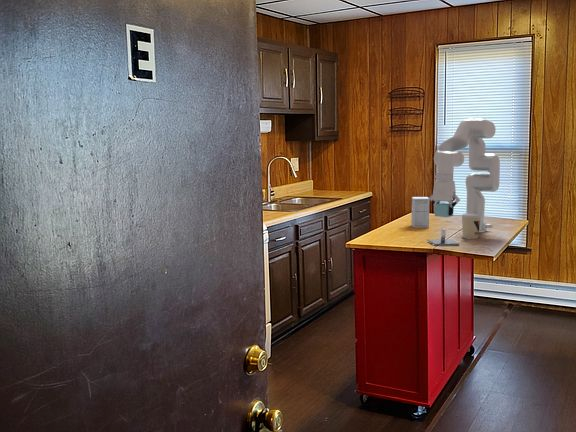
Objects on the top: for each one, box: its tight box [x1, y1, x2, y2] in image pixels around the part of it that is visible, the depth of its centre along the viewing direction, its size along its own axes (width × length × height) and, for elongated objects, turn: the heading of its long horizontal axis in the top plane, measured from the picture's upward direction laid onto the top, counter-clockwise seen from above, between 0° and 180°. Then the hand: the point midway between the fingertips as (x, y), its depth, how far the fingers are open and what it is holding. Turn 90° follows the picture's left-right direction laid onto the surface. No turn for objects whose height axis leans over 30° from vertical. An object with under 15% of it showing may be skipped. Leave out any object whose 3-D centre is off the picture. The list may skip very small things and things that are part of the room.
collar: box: [434, 202, 454, 218], centre depth 293 cm, size 6×6×6 cm
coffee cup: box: [461, 212, 481, 240], centre depth 312 cm, size 9×9×12 cm
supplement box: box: [410, 196, 430, 228], centre depth 349 cm, size 10×9×17 cm
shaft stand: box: [426, 228, 460, 247], centre depth 295 cm, size 12×12×7 cm
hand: (443, 214), depth 293 cm, fingers closed on collar, 6 cm apart
